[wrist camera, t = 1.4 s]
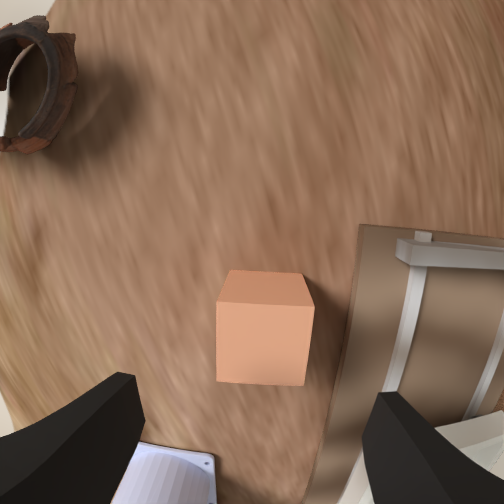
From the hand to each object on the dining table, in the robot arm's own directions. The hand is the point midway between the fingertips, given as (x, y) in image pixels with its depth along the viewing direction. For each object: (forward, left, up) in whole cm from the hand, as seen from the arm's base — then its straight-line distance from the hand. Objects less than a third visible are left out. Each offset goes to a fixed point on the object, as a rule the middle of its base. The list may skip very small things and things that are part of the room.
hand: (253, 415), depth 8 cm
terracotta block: (0, 0, -10) cm, 10 cm away
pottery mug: (+13, +17, -10) cm, 24 cm away
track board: (-10, -13, -10) cm, 19 cm away
